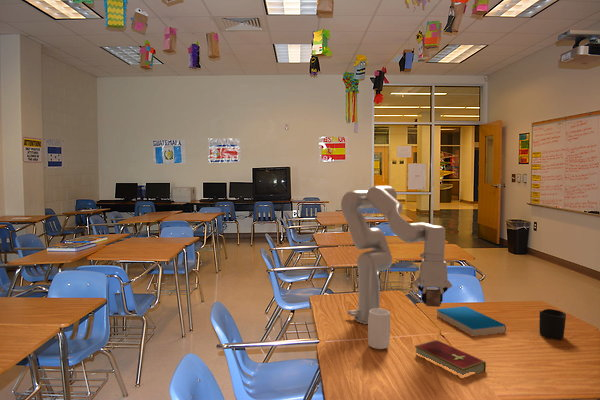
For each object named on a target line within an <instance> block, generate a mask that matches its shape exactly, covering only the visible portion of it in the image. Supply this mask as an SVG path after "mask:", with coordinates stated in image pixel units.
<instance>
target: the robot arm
mask: <svg viewBox="0 0 600 400" xmlns="http://www.w3.org/2000/svg"><path fill="white" fill-rule="evenodd" d="M397 196H398V194H397V191H396V190H395V188H394V187H392V186H390V185H374V186H372V187H370V188H369V189H364V190H363V189H356V190H350V191H347V192H346V193H345V194H344V195H343V196H342V199H341V202H340V208H341V212H342V215H343V217H344V219H345V222H346V223H347V227H348V229H349V233H350V236H351V238H352V242H353V244H354V245H353V246H354V247H356V249H357V250H360V251H361V250H363V252H362V253H361V254H360V255H358V257H357V260H356V266H357V271H358V303H357V304H358V306H357V307H356V309H355V310H351V309H350V310H347V315H350V317H354V321H355V320H356V321H357V323H358V322H360V323H359V324H361V323H363V324H362V325H365V324H368V317H369V311H370V310H371V309H374V308H380V305H381V304H380V300H381V299H380V296H381V281H380V277H379V275H378V272H382V271H386V270H388V269H390V267H392V265H393V257H392V252H391V250H390V247H389V244H388V241H387V238H386V236H385V234H384V233H383V230H381V229H380V228H379V227H369V226H368V223H367V220H366V218H365V216H364V215H363V213H362V212H361V211H360V210H359V209H372V208H373V209H374V208H375V209H377V210H378V212H380V213H381V214H382V215H383V216H384V217H385V218H386V219H387V223H388V227H389V229H390V230H391V231H392V233H393V234H394V235H395V236H396V237H398V238H399V239H400V240H401V241H403V242H404V243H408V244H411V243H418V242H419V243H420V242H424V247H423V253H420V254H419V257H420V258H423V259H421V262H420V267H419V273H418V274H419V275H418V277H417V278H416V279H415V280H414V282H412V284H413V286H414V287H416V288H417V289H418V290H419V292H421V302H422V303H423V304H424V305H425V304H426V289H427V287H430V288H438V289H439V290H440V291H441V294H440V305H442V302H443V300H444V299H443V296H444V294H445V293H446V292H447V291H448V289H451V288H452V287H453V284H452V283H451V281H450V279H448V265H447V261H445V249H446V246H445V245H446V228H445V227H444V226H442V225H439V224H438V225H436V224H431V223H426V222H411V223H409V222H407V220H405V219H404V218H403V217H402V216H401V215H400V214H401V213H402V211H403V204H402V202H400V201H399V200H397V198H398V197H397ZM369 249H371V250H369ZM364 250H369V251H365V252H364ZM356 321H355V322H356Z"/></svg>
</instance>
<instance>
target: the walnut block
mask: <svg viewBox="0 0 600 400" xmlns="http://www.w3.org/2000/svg"><path fill="white" fill-rule="evenodd" d="M440 294H441V291H440V290H439V289H438V288H437V287H427V289H426V304H424V305H425V307H435V308H439V307H441V304H440Z"/></svg>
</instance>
